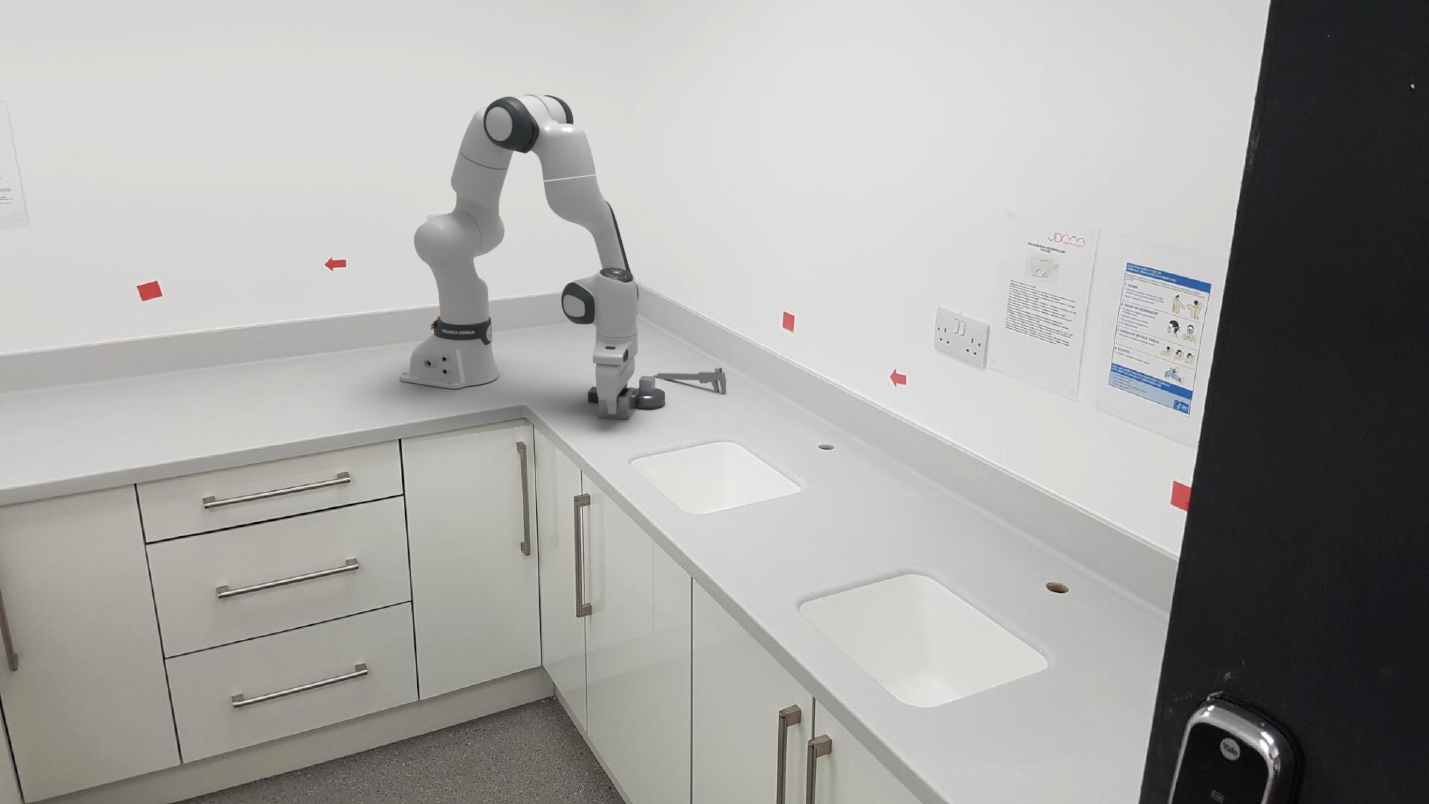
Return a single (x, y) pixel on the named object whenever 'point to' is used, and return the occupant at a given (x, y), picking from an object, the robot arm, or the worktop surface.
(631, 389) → the grey metal block
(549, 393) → the worktop surface
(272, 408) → the worktop surface
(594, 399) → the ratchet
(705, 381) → the caliper
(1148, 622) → the worktop surface
